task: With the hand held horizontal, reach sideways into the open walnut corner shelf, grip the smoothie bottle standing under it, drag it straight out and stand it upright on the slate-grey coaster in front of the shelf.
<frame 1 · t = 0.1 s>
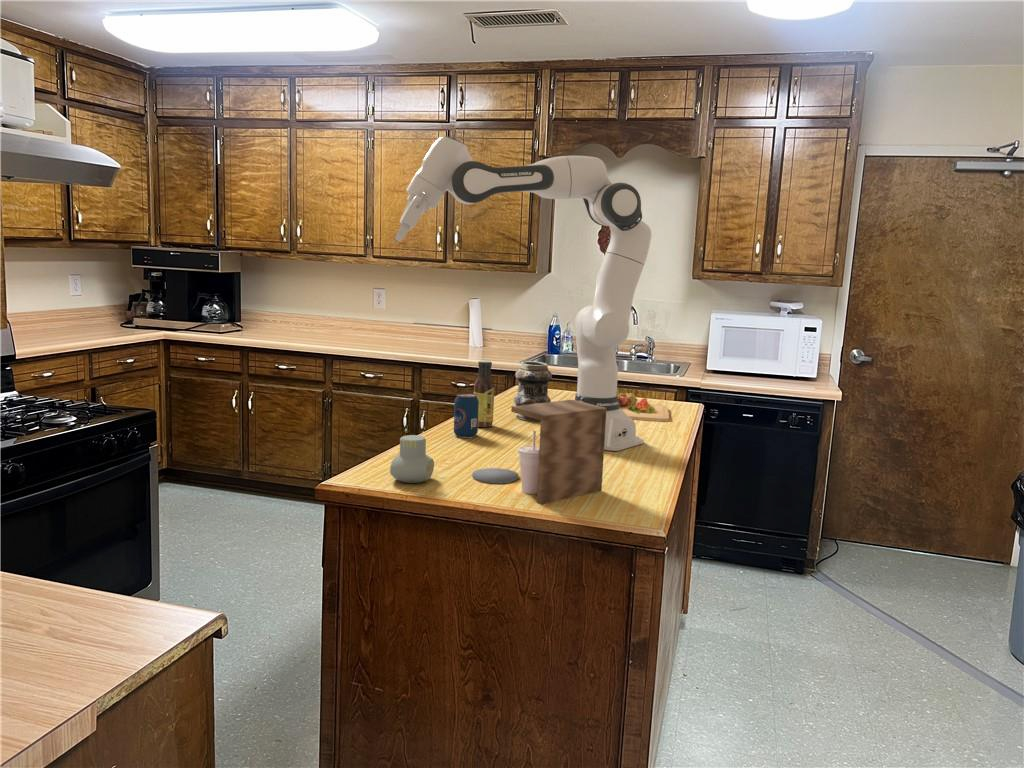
hand: (397, 241, 204), 54 cm above the countertop, tool tilted 30°, fingers open, 8 cm apart
cutting board: (616, 413, 271), on the countertop
coaster: (495, 476, 186), on the countertop
air freshener: (412, 480, 181), on the countertop
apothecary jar: (531, 418, 254), on the countertop
smoothie: (530, 492, 176), on the countertop
soda can: (465, 436, 226), on the countertop
shelf: (536, 493, 174), on the countertop
sauce bottle: (482, 426, 240), on the countertop
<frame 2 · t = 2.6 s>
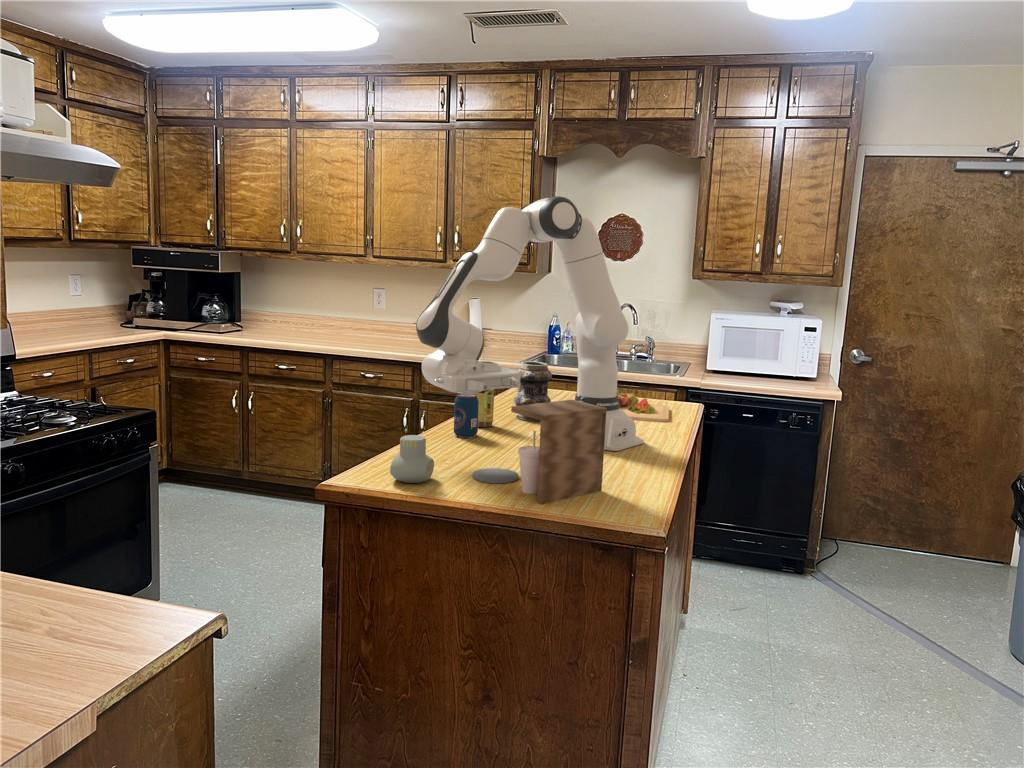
hand: (501, 385, 182), 22 cm above the countertop, tool horizontal, fingers open, 8 cm apart
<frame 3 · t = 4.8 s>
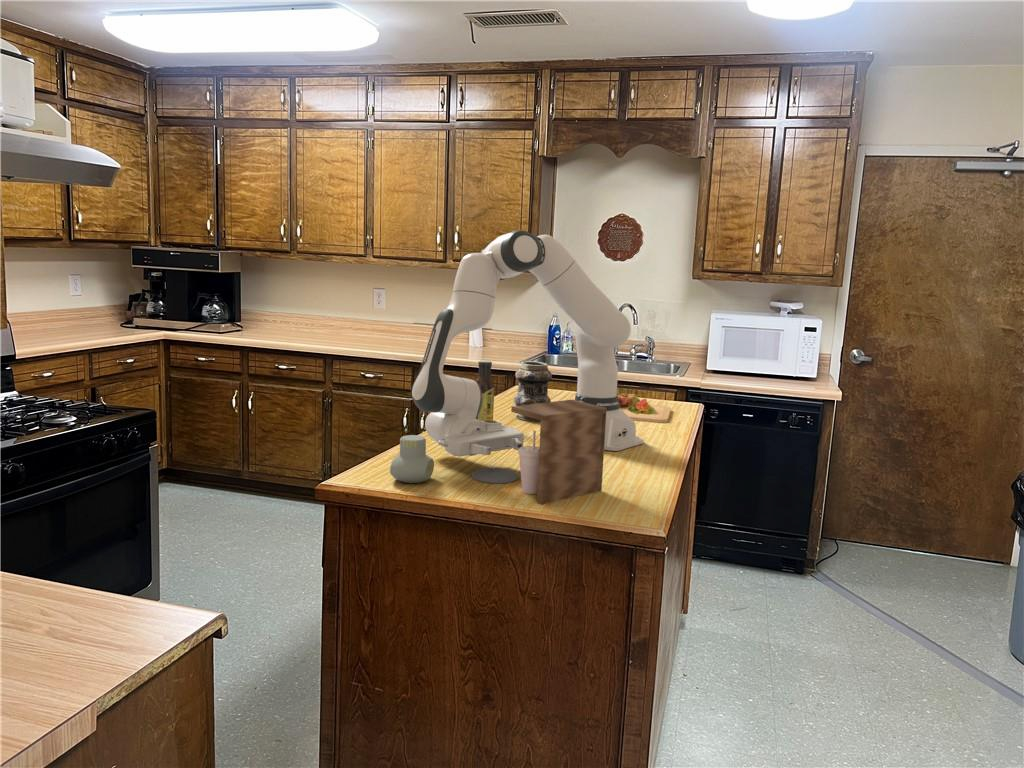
hand: (504, 449, 182), 8 cm above the countertop, tool horizontal, fingers open, 8 cm apart
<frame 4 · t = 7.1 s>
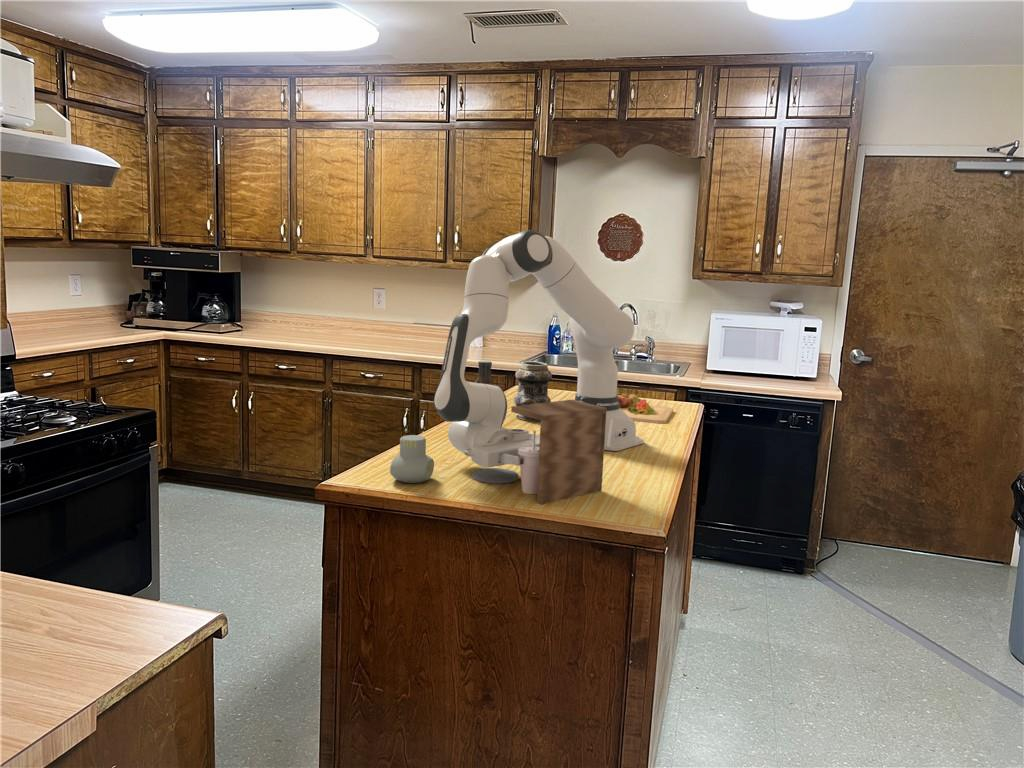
hand: (534, 459, 174), 8 cm above the countertop, tool horizontal, fingers closed on smoothie, 6 cm apart
smoothie: (530, 492, 176), on the countertop, touching gripper
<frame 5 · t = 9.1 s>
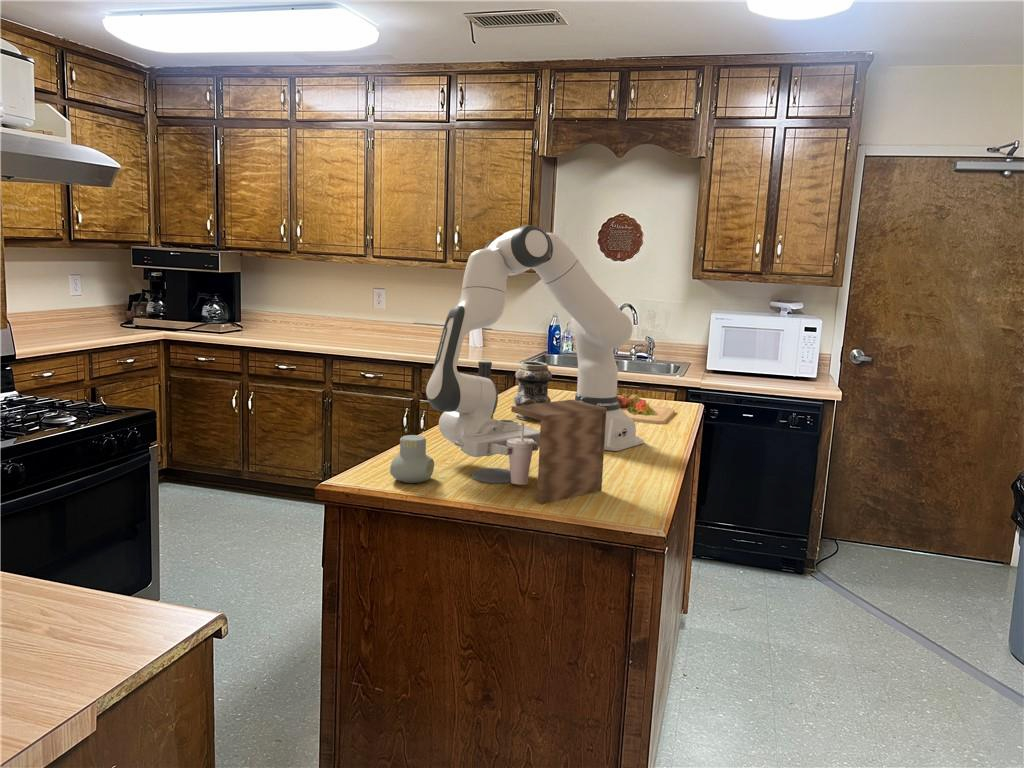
hand: (522, 449, 177), 9 cm above the countertop, tool horizontal, fingers closed on smoothie, 6 cm apart
smoothie: (519, 483, 179), point 1 cm above the countertop, touching gripper
when the fingers open (9 cm above the countertop, at t = 11.5 s): smoothie stays where it is, resting on coaster.
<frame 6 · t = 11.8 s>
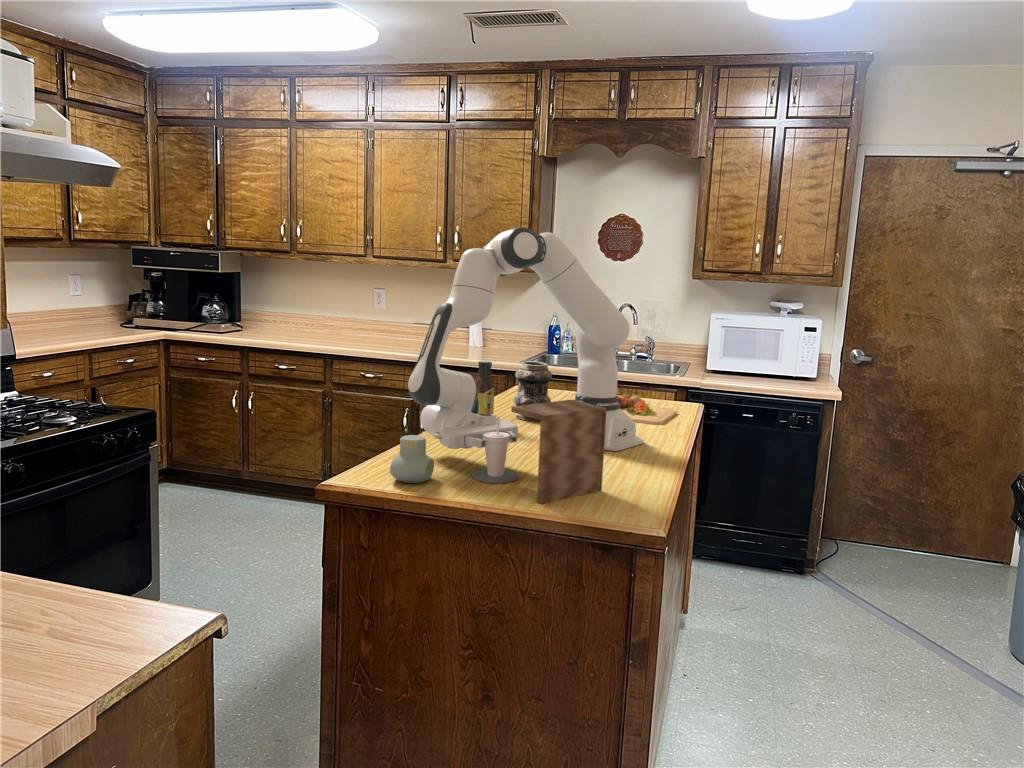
hand: (499, 441, 184), 9 cm above the countertop, tool horizontal, fingers open, 8 cm apart
smoothie: (495, 475, 186), resting on coaster
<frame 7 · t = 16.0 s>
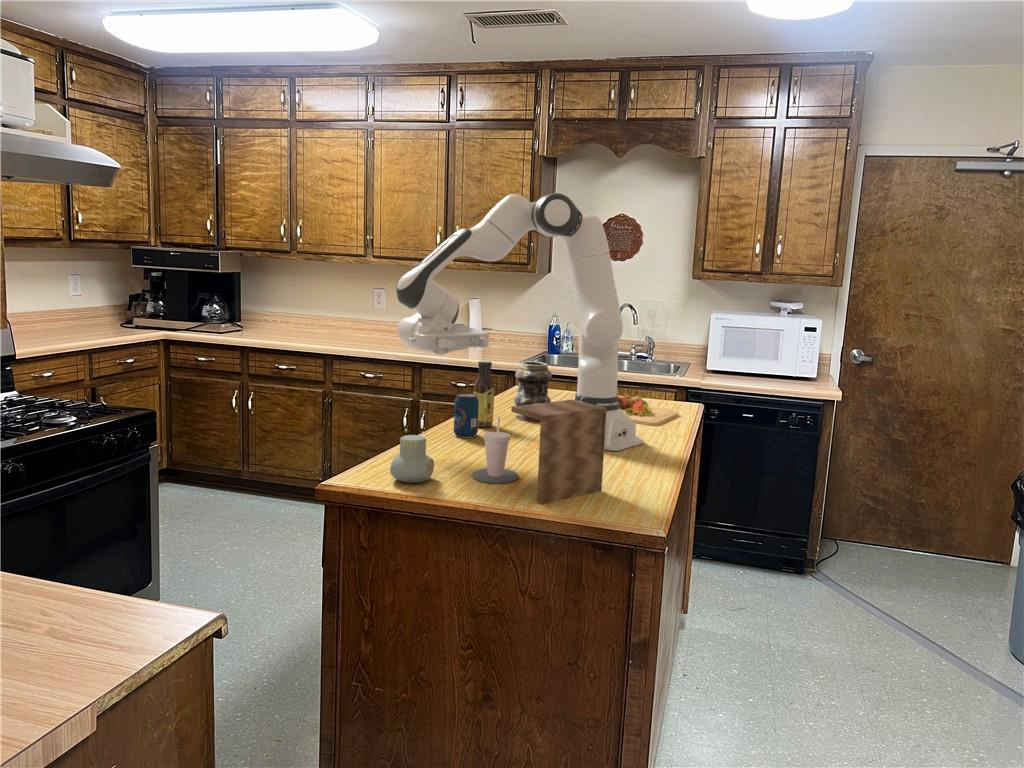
hand: (469, 343, 194), 30 cm above the countertop, tool horizontal, fingers open, 8 cm apart
at the end: smoothie 0.0 cm from the coaster (horizontally); smoothie tilted 0°; smoothie resting on coaster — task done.
